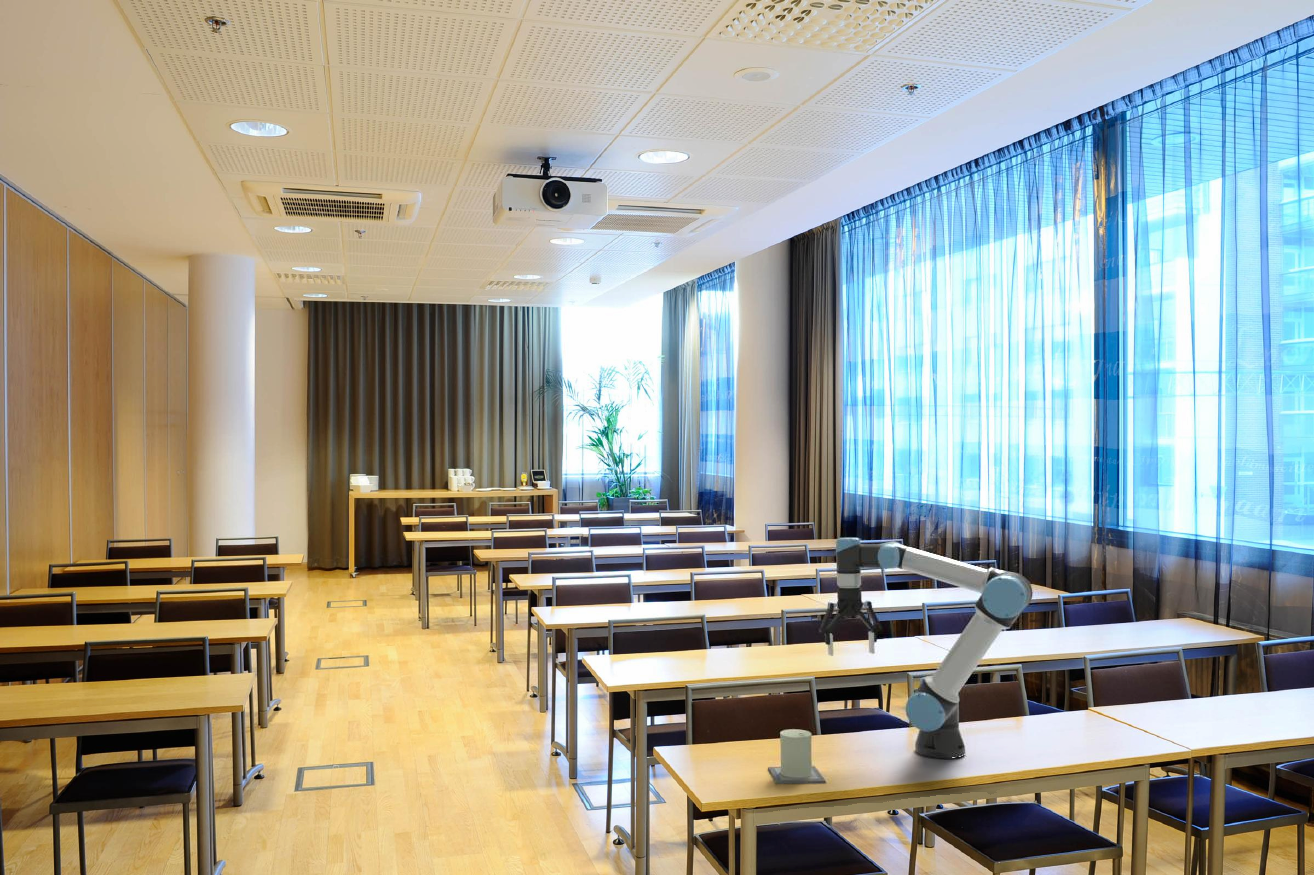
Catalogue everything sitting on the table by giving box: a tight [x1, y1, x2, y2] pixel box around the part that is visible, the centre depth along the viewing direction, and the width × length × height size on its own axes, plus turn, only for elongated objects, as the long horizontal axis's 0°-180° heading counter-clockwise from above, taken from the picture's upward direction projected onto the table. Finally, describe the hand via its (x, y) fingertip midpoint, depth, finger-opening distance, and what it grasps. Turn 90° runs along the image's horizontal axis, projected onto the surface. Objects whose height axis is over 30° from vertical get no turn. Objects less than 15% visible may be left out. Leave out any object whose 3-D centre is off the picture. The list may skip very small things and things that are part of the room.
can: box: [779, 728, 813, 778], centre depth 273 cm, size 9×9×12 cm
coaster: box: [767, 765, 827, 785], centre depth 273 cm, size 14×14×1 cm
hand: (851, 654), depth 298 cm, fingers open, 13 cm apart
